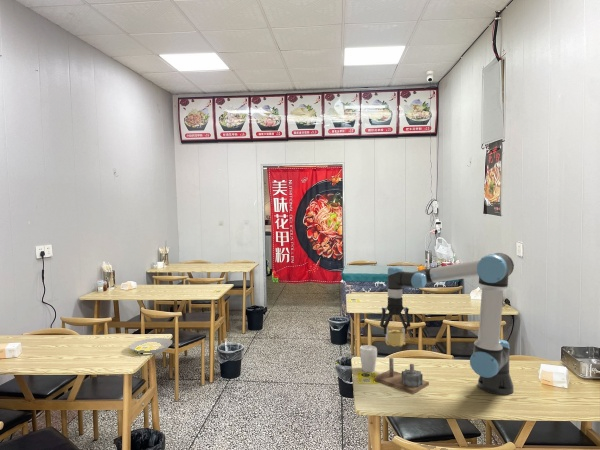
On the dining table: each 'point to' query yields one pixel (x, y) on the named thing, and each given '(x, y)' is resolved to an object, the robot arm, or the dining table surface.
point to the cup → (368, 357)
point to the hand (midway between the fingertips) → (395, 340)
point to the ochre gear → (395, 338)
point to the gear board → (403, 379)
